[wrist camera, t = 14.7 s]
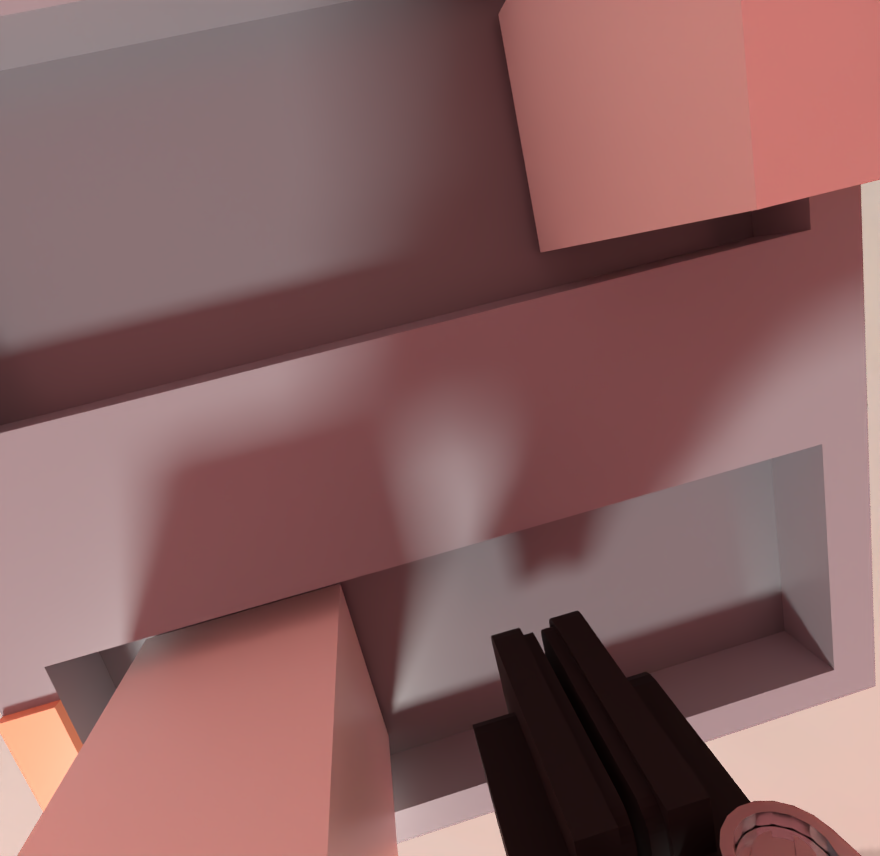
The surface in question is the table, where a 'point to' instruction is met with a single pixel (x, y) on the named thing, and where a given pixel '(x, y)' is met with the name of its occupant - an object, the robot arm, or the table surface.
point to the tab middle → (688, 108)
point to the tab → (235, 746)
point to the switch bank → (398, 385)
